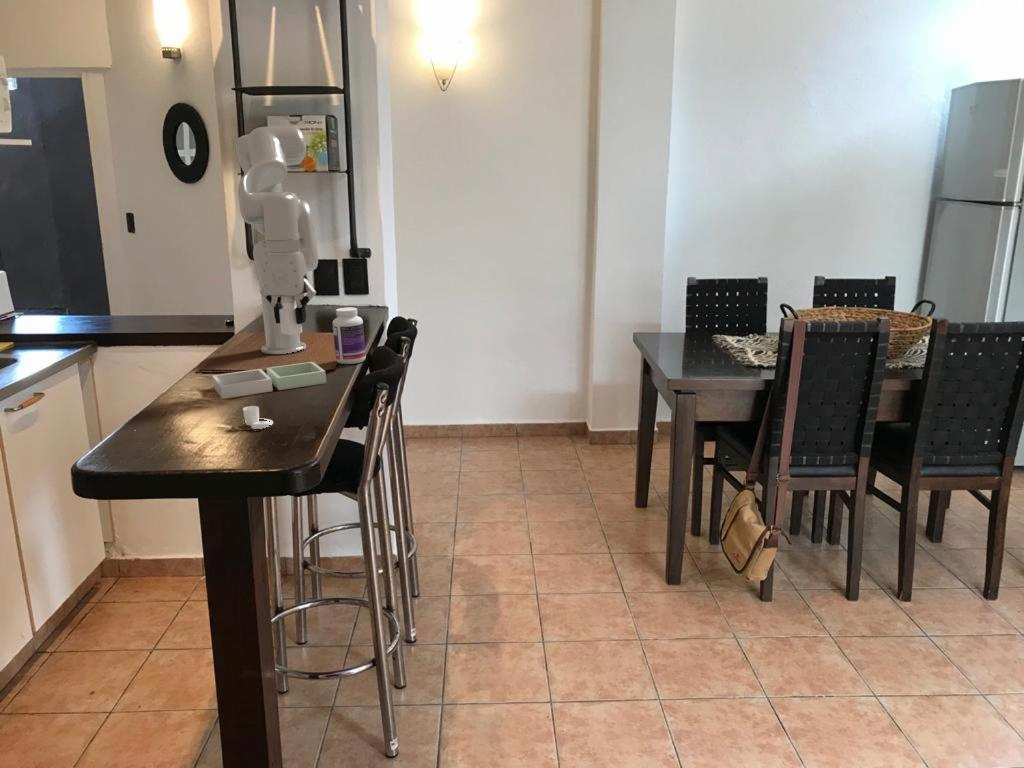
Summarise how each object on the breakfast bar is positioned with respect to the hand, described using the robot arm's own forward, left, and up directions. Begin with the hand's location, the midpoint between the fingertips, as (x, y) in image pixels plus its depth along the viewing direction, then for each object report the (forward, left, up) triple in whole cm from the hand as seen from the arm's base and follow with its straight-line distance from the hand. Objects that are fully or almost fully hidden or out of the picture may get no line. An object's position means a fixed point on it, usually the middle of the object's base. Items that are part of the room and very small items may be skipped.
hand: (290, 321), depth 197 cm
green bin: (0, 0, -15) cm, 15 cm away
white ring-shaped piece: (+31, -19, -16) cm, 40 cm away
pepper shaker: (0, 0, -3) cm, 3 cm away
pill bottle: (-12, +18, -15) cm, 26 cm away
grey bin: (0, -13, -15) cm, 20 cm away
